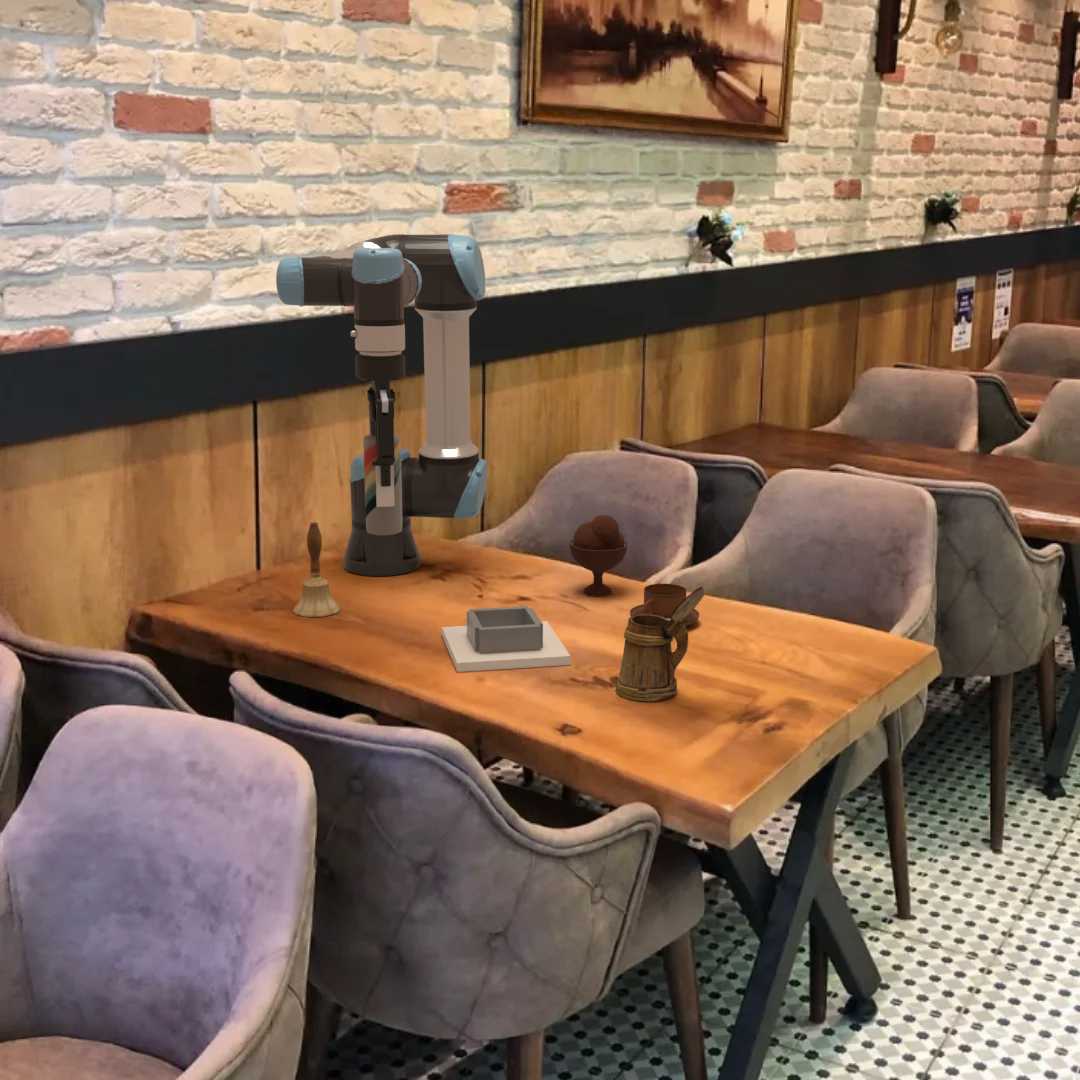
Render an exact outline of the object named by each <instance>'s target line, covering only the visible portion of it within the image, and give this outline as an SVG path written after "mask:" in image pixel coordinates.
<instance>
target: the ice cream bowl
mask: <svg viewBox="0 0 1080 1080" xmlns="http://www.w3.org/2000/svg"><path fill="white" fill-rule="evenodd" d="M628 542H629V541H626V540H625V538H624V535H623V533H622V532H620V526H619V524H618V521H617V520H616V519H615V518H614V517H613V516H611V515H607V514H603V515H597V516H595V517H594V518H593V519H592V520H591V521H587V522H584V523H582V524H580V525H579V526H578V527H577V529H576V530H575V531H574V535H573V539H572V540H570V542H569V549H570V550H569V551H570V554H571V556H572V558H573V560H574V561H575V562H576V563H577V564H578V565H579V566H581V567H582V568H584V569H586V570H588V571H590V572H592V576H593V579H592V580H593V581H592V582H593V583H591V584H589V585H587V586H585V587H584V589H583V592H582V593H583V594H584V595H587V596H591V597H607V596H610V595H612V594H613V590H612V588H611V587H609V586H607V585H606V584H604V583H603V582H604V581H603V579H604V578H603V576H604V574H605V572H608V571H610V570H613V569H614V568H616V567H617V566H618V565H619V564H620V563H622V561H623V560H624V559H625V558H624V557H625V556H626V553H627V549H628Z"/></svg>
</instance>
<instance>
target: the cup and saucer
mask: <svg viewBox="0 0 1080 1080" xmlns="http://www.w3.org/2000/svg"><path fill="white" fill-rule="evenodd" d="M686 597H687V588H686V587H685V586H682V585H678V584H674V583H653V584H647V585H645V587H644V589H643V603H642V604H639V605H636V606H634V607H632V608H631V609H630V610H629V615H630V617H632V616H634V615H641V614H652V615H658V616H662V617H665V618H669V619H671V614H672V612H673V611H674V609H675V608H676V607H677V606H678V605H679V604H680V603H681V602H682V601H683V600H684V599H685V598H686ZM699 617H700V613H699V611H698V610H697V609H696V608H694V609H693V610H692V611H691V612H690V613H689V614H688V615H687V616H686V618H685V619H684V620H683V621H684V624H685V626H686V627H688V626H691V625H693V624H694V623H695V622H696V621H698V620H699Z"/></svg>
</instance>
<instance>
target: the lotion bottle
mask: <svg viewBox="0 0 1080 1080" xmlns="http://www.w3.org/2000/svg"><path fill="white" fill-rule="evenodd" d="M375 414H376V412H375ZM368 421H369V434H366V435H364V437H363V453H364V474H365V509H366V530H367V532H368V533H370V534H373V535H393V534H397V533H400V532H401V531H402V479H401V449H402V448H401V447H402V445H401V436H400V435H399V434H396V433H394V457H395V463H393V464H394V501H395V506H389V507H377V503H376V466H372V462H374V461H376V460H377V455H376V435H375V422H374V421H373V420H372V419H371V408H370V409H369V408H368ZM393 422H394V423H395V418H394V419H393ZM383 456H389V455H383Z"/></svg>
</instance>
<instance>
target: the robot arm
mask: <svg viewBox="0 0 1080 1080" xmlns="http://www.w3.org/2000/svg"><path fill="white" fill-rule="evenodd" d="M276 269H277V270H276V273H275V275H276V277H275V278H276V279H275V282H276V283H275V284H276V291H277V295H278V298H279V300H280V301H281V302H282V303H283V304H285V305H288V306H298V307H353V314H354V315H353V317H354V320H353V322H354V328H355V330H351V331H350V337H352V338H355V340H354V346H355V350H356V351H357V352H359V353H356V355H355V356H354V357H355V359H354V361H355V362H354V363H355V365H354V366H355V367H354V368H355V377H356V378H357V379H358V380H361V381H366V382H371V386H369V389H367V391H366V393H367V394H366V396H367V398H366V399H367V401H368V410H369V409H370V408H371V419H372V420H373V421H374V422H375V435H376V455H377V460H376V461H374V462H372V466H376V503H377V507H389V506H395V501H394V464H393V463H395V457H394V434H395V421H394V422H393V419H394V420H395V401H396V392H395V391H394V389H393V388H391V385H390V384H391V383H390V382H391V381H399V380H401V379H404V378H405V377H406V356H405V355H404V353H402V352H403V351H404V350H405V349H406V327H405V326H406V324H405V314H404V313H405V309H404V308H405V306H408V305H409V304H411V303H412V302H413V301H414V310H415V311H416V312H417V313H418V314H419V315H420V316H421V317H422V322H423V365H424V366H423V367H424V370H423V371H424V396H425V397H424V399H425V400H424V403H425V405H424V406H425V407H424V409H425V434H426V435H425V436H426V437H425V438H426V439H425V443H423V445H422V446H421V447H420V448H419V449H418V457H412V456H411V452H410V450H409V449H408V448H401V479H402V531H401V532H400V533H397V534H393V535H373V534H370V533H368V532H367V530H366V509H365V474H364V452H363V453H361V454H359V455H357V456H355V457H353V459H352V460H351V462H350V473H349V474H350V476H349V477H350V478H349V484H350V507H351V508H350V510H351V511H350V512H351V513H350V514H351V532H350V535H349V537H348V541H347V545H346V547H345V548H346V549H345V551H344V555H343V568H344V570H345V571H347V572H350V573H353V574H356V575H361V576H370V577H371V576H372V577H373V576H374V577H383V576H384V577H385V576H398V575H404V574H408V573H411V572H414V571H416V570H418V569H419V568H420V567H421V553H420V551H419V548H418V545H417V542H416V539H415V537H414V534H413V531H412V523H411V522H412V521H411V520H412V519H411V517H412V518H414V517H415V518H436V519H438V518H439V519H453V520H457V519H473V518H475V517H477V515H478V514H479V513H480V512H481V509H482V506H483V503H484V498H485V493H486V487H487V481H488V480H487V479H488V462H487V460H486V459H483V458H480V457H479V456H480V453H479V452H480V451H479V448H478V447H477V446H476V445H475V444H474V443H473V442H472V440H471V385H470V384H471V380H470V379H471V378H470V373H471V372H470V371H471V370H470V367H471V366H470V316H472V315H473V313H474V312H475V311H476V310H477V309H478V305H477V303H478V301H480V300H483V299H484V298H485V295H486V273H485V272H486V271H485V265H484V260H483V254H482V252H481V248H480V245H479V243H478V241H476V239H475V238H473V237H472V236H469V235H460V234H452V233H449V234H447V233H446V234H444V233H443V234H442V233H441V234H439V233H438V234H404V233H403V234H402V233H401V234H400V233H398V234H396V233H395V234H388V235H384V236H378V237H374V238H371V239H366V240H363V241H358V242H355V243H353V244H351V245H350V246H348V247H347V248H346V249H345V250H344V251H343V250H342V251H337V252H334V253H328V254H323V255H320V256H313V257H303V256H302V257H301V256H295V257H285V258H282V259H281V260H280V261H279V263H278V265H277V268H276ZM375 412H376V414H375ZM383 455H389V456H383Z"/></svg>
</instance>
